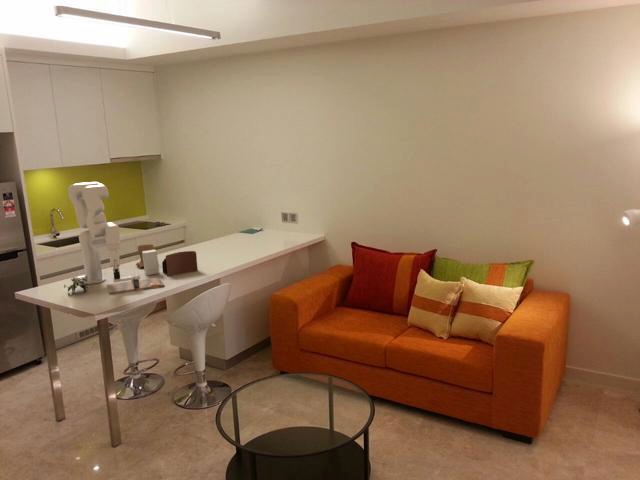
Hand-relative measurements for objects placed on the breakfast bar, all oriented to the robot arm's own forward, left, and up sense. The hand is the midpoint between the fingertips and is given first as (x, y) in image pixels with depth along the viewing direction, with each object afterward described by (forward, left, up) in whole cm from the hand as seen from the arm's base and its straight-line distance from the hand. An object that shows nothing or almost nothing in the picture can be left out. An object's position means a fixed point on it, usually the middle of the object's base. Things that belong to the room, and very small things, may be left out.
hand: (117, 277), depth 307 cm
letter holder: (+40, +26, -9) cm, 48 cm away
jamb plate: (+10, +6, -8) cm, 14 cm away
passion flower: (-21, +10, -9) cm, 25 cm away
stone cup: (+23, +56, -9) cm, 61 cm away
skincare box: (+23, +32, -8) cm, 40 cm away
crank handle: (+5, 0, -2) cm, 5 cm away
